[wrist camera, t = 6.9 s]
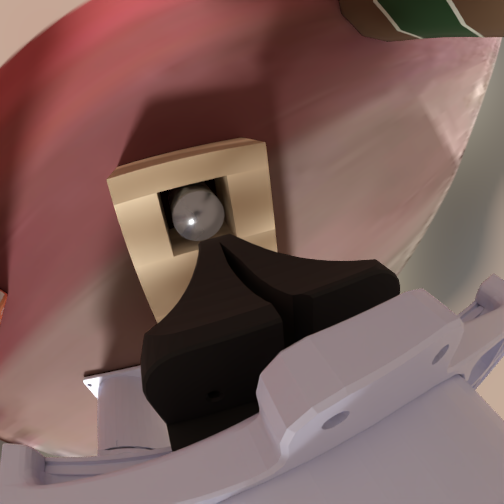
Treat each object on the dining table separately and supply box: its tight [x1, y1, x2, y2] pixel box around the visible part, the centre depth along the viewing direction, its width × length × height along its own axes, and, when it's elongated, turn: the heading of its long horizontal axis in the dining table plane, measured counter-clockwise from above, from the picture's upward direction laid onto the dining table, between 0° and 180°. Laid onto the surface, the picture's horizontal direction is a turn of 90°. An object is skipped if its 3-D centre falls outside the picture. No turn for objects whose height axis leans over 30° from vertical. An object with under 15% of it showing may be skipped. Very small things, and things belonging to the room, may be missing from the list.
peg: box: [169, 181, 224, 241], centre depth 18 cm, size 3×3×4 cm
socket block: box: [107, 137, 277, 324], centre depth 20 cm, size 15×9×4 cm, turn 7°
